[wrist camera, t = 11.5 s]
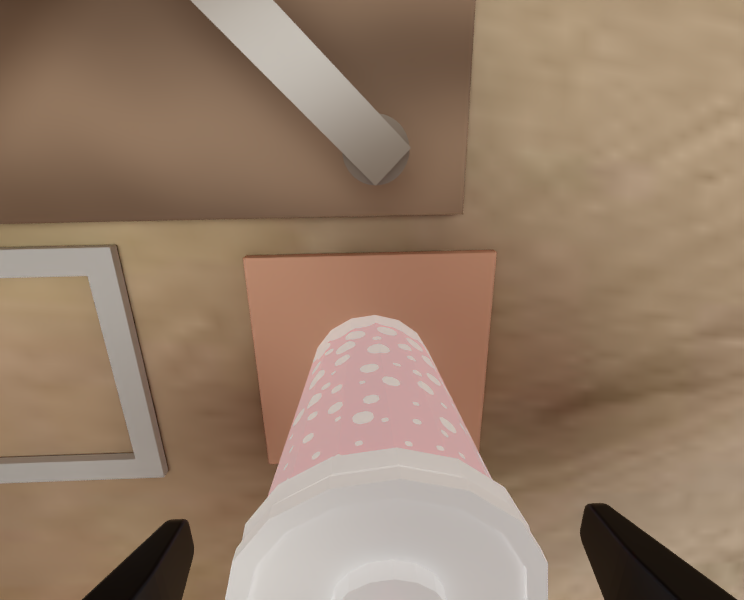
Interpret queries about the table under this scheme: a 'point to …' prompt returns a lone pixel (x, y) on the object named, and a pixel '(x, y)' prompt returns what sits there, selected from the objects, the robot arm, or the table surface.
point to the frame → (123, 359)
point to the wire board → (232, 108)
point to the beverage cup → (383, 489)
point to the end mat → (366, 298)
